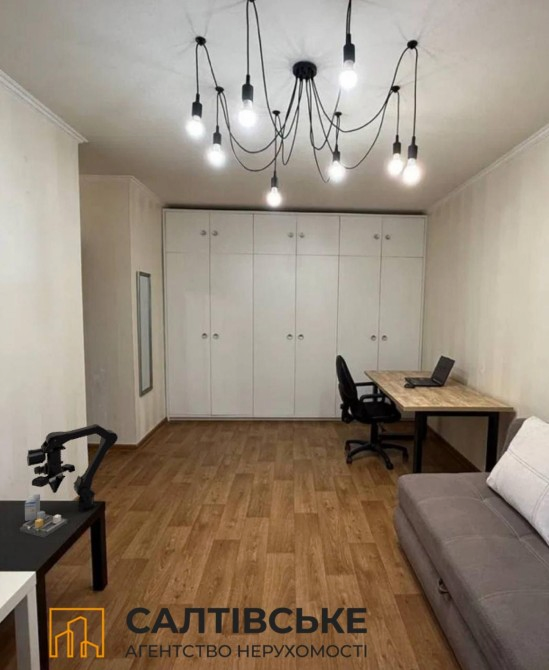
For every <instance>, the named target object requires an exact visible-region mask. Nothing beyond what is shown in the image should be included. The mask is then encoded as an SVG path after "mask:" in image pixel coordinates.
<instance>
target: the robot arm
mask: <svg viewBox="0 0 549 670" xmlns="http://www.w3.org/2000/svg"><path fill="white" fill-rule="evenodd" d="M95 434H96V435H98V436H99V437H100V440H99V446H98V448H97V450H96V451H95V454H94V455H93V457H92V459H91V461H89V462H90V463H89V464H88V466H87V468H86V470H85V472H84V473H83V474H82V475H81V476H80V475H78V476H77V477H76V480H75V481H74V482H73V490H74V491H75V493H76V495H77V496H79V497H78V502H77V503H78V505H77V506H78V507H76V510H78V511H82V512H88V511H90V510H91V509H93V508H94V507H97V503H95V498H94V497H95V495H96V492H95V491H94V489H93V488H92V485H93V479H94V476H95V475H96V473H97V471H98V469H99V467H100V466H101V463H102V462H103V459H104V458H105V457H106V454H107V452H108V451H109V450H110V449H111V448H113V447H114V445H115V443H117V441H118V434H117V433H115V432H114V431H113V430H111V429H105V428H104V427H102V426H100V424H97V423H94V424H91V425H87V426H84V427H80V428H75V429H72V430H68V431H67V430H66V431H53V432H50V433H48V434H47V435H46V436H45V440H44V442H43V443H42V445H41V446H40V448H36V449H35V448H34V449H28V450H27V456H26V462H27V466H28V467H31V466H35V465H38V466H35V467H34V468H33V472H34V475H39V476H37V477H35V478H33V479H32V480H31V486H34V487H38V488H43V487H45V486H48V485H49V487H50V489H51V491H52V493H53V494H55V493H57V491H58V490H59V488H60V485H61V483H62V482H63V480H64V479H65V478H66V475H65V474H64V473H65V472H67V471H68V473H69V474H71V473H73V472H75V471H76V466H75V464H70V463H65V464H64V460H62V451H64V450H66V449H67V447H66V446H65V444H66V443H68V442H70V441H73V440H77V439H79V438H84V437H88V436H92V435H95ZM45 461H46V462H45ZM43 463H44V465H40V464H43ZM62 464H63V465H62ZM41 474H42V475H41Z"/></svg>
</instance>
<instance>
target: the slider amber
mask: <svg viewBox="0 0 549 670" xmlns="http://www.w3.org/2000/svg"><path fill="white" fill-rule="evenodd" d="M43 525H44V524H43V519H37V520H35V527H36V528H40V527H41V526H43Z"/></svg>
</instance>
